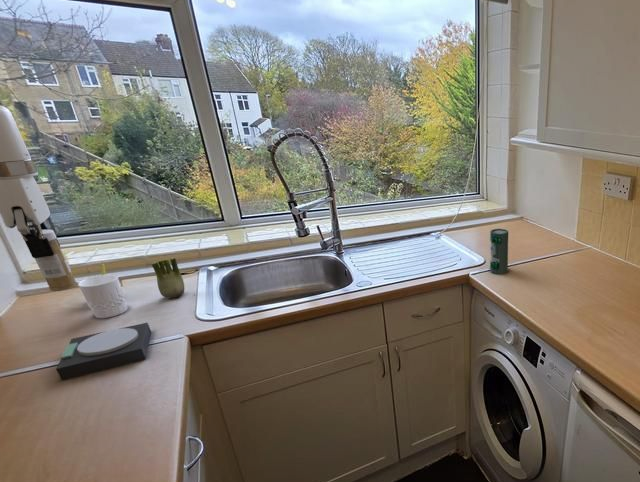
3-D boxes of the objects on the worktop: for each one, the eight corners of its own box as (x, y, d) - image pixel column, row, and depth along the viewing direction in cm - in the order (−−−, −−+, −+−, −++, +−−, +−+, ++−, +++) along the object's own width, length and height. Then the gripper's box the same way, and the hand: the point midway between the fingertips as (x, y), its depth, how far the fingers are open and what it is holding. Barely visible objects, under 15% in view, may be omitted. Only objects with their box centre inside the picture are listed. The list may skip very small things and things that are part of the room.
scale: (61, 380, 87) (54, 365, 86) (76, 349, 98) (70, 335, 96) (145, 359, 95) (140, 345, 93) (151, 332, 105) (146, 319, 104)
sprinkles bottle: (82, 282, 96) (58, 228, 91) (69, 290, 92) (43, 234, 87) (58, 284, 95) (32, 229, 89) (44, 292, 91) (15, 235, 85)
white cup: (91, 322, 109) (76, 289, 105) (93, 311, 115) (79, 279, 111) (130, 313, 114) (116, 281, 110) (130, 303, 119) (118, 272, 115)
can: (489, 268, 149) (488, 229, 144) (504, 266, 151) (505, 228, 145) (492, 274, 144) (492, 234, 138) (509, 273, 146) (509, 233, 140)
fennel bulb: (187, 291, 127) (175, 255, 122) (186, 297, 123) (173, 260, 119) (164, 295, 124) (151, 258, 119) (161, 301, 120) (148, 264, 116)
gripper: (-5, 165, 87) (34, 245, 94) (-38, 177, 74) (9, 269, 82) (45, 162, 91) (79, 239, 98) (22, 174, 78) (62, 261, 86)
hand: (47, 252), depth 90 cm, fingers closed on sprinkles bottle, 4 cm apart
